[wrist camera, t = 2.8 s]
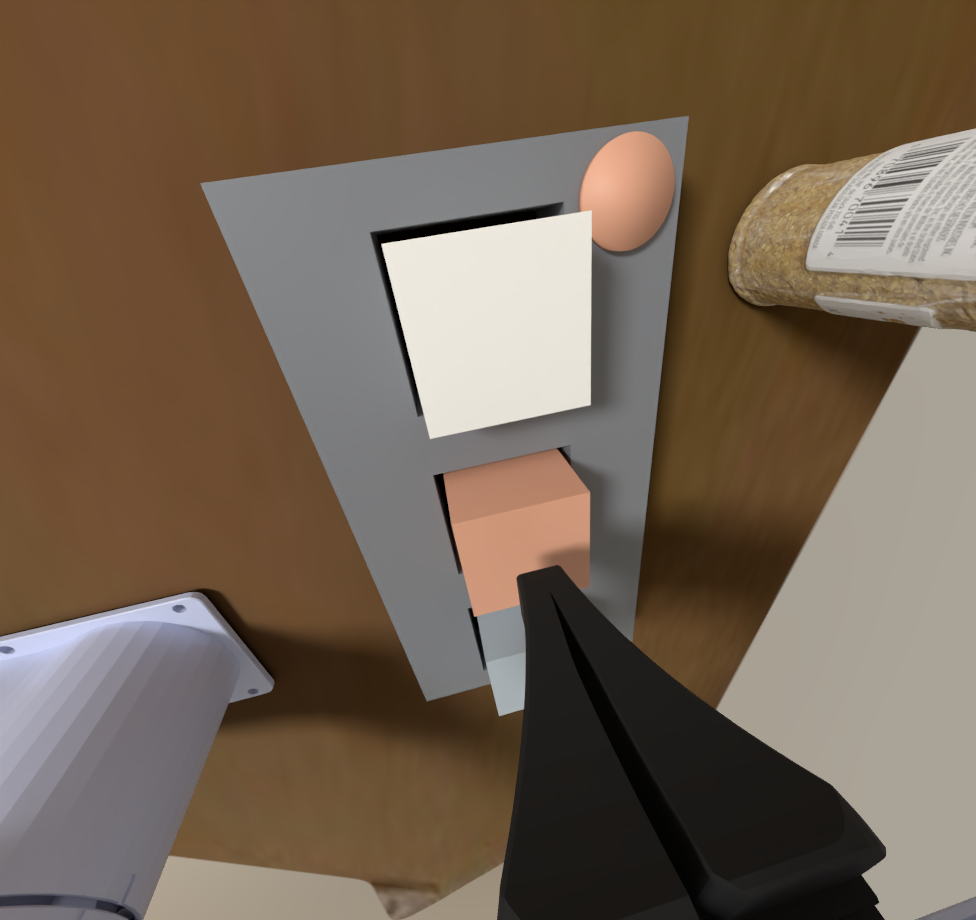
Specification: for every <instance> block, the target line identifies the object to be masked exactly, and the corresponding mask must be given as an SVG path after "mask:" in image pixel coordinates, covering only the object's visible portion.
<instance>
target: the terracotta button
mask: <svg viewBox="0 0 976 920" xmlns="http://www.w3.org/2000/svg"><path fill="white" fill-rule="evenodd" d="M443 476H444V482H445V488H446V495H447V501H448V507H449V513H450V519H451V525H452V529H453V533H454V537H455V541H456V545H457V549H458V553H459V557H460V561H461V565H462V569H463V573H464V577H465V581H466V585H467V589H468V593H469V597H470V601H471V605H472V609H473V613H474V617H476V616H480V615H483V614H487V613H491V612H495V611H499V610H503V609H506V608H510V607H514V606H518V605H520V601H519V594H518V587H517V580H516V578H517V576H518V575H519V574H523V573H527V572H531V571H535V570H539V569H543V568H547V567H551V566H555V565H559V566H561V567H562V568H563V570H564V571H565V572H566V574H567V575H568V576H569V577H570V579H571V580H572V581H573V582H574V583H575V585H576V586H577V587H578V588H579V589H583V588H587V587H590V491H589V490H588V489H587V487H586V486H585V485H584V483H583V482H582V481H581V480H580V478H579V477H578V476H577V474H576V473H575V472H574V470H573V469H572V468H571V466H570V465H569V464H568V462H567V461H566V460H565V458H564V457H563V456H562V454H561V453H560V452H559V451H558V449H557V448H554V449H550V450H545V451H541V452H536V453H532V454H527V455H523V456H518V457H514V458H509V459H505V460H500V461H495V462H491V463H486V464H482V465H477V466H473V467H468V468H464V469H459V470H455V471H450V472H446V473H443Z"/></svg>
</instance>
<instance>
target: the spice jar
mask: <svg viewBox="0 0 976 920" xmlns="http://www.w3.org/2000/svg"><path fill="white" fill-rule="evenodd" d="M728 259H729V262H728V272H729V281H730V283H731V284H732V286H733V288H734V290H735V292H736V293H737V294H738V295H739V296H740V297H742V298H744V299H745V300H746V301H748V302H750V303H751V304H754V305H758V306H773V305H784V306H795V307H801V308H808V309H816V310H822V311H826V312H829V313H832V314H837V315H842V316H850V317H858V318H865V319H872V320H879V321H886V322H895V323H902V324H908V325H914V326H922V327H930V328H938V329H963V330H969V331H975V332H976V129H972V130H967V131H963V132H958V133H954V134H949V135H944V136H940V137H935V138H931V139H926V140H922V141H917V142H913V143H909V144H905V145H902V146H898V147H895V148H893V149H891V150H889V151H887V152H884V153H879V154H873V155H869V156H864V157H859V158H854V159H851V160H845V161H840V162H835V163H832V164H826V165H816V164H814V165H812V164H805V165H801V166H797V167H794V168H792V169H789V170H787V171H786V172H784V173H782V174H780V175H778V176H777V177H775V178H774V179H772V180H771V181H769V183H768V184H767V185H766V186H765V187H764V188H763V189H762V190H761V191H759V193H758V194H757V195H756V196H755V197H754V198H753V200H752V202H751V204H750V205H749V206H748V207H747V208H746V210H745V212H744V213H743V215H742V217H741V219H740V221H739V223H738V225H737V227H736V229H735V231H734V234H733V237H732V240H731V244H730V248H729V255H728Z"/></svg>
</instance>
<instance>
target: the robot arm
mask: <svg viewBox="0 0 976 920" xmlns="http://www.w3.org/2000/svg"><path fill="white" fill-rule="evenodd" d="M516 580H517V587H518V594H519V601H520V608H521V615H522V619H523V623H524V627H525V641H526V674H525V699H524V715H523V727H522V738H521V749H520V758H519V767H518V774H517V782H516V789H515V797H514V804H513V811H512V818H511V825H510V831H509V837H508V843H507V849H506V855H505V860H504V866H503V873H502V878H501V884H500V895H499V907H498V916H497V920H884V918H883V917H882V915H881V914H880V913H879V911H878V910H877V908H876V907H875V905H876V904H878V903H879V901H878V898H877V896H876V895H875V893H874V892H873V891H872V889H871V888H870V886H869V885H868V884H867V882H866V881H865V880H864V878H863V877H862V874H863V873H864V872H866V871H867V870H869V869H870V868H872V867H873V866H874V865H876V864H877V863H879V862H880V861H881V860H883V859H884V858H885V856H886V847H885V846H884V845H883V844H882V842H881V841H880V840H879V838H878V837H877V836H876V835H875V834H874V832H873V831H872V830H871V829H870V827H869V826H868V825H867V824H866V822H865V821H864V820H863V819H862V818H861V816H860V815H859V814H858V813H857V812H856V811H855V810H854V809H853V808H852V807H851V806H850V804H849V803H848V802H847V801H846V800H845V799H844V798H843V797H842V796H841V795H840V794H839V793H838V791H837V790H836V789H834V787H833V786H832V785H831V784H829V783H827V782H826V781H824V780H823V779H821V778H819V777H818V776H816V775H814V774H813V773H811V772H809V771H808V770H806V769H804V768H803V767H801V766H799V765H798V764H796V763H795V762H793V761H791V760H790V759H788V758H787V757H785V756H784V755H782V754H780V753H779V752H777V751H776V750H774V749H772V748H771V747H769V746H768V745H766V744H765V743H763V742H762V741H760V740H759V739H757V738H756V737H754V736H753V735H751V734H750V733H748V732H747V731H745V730H744V729H742V728H741V727H739V726H738V725H736V724H735V723H733V722H732V721H731V720H729V719H728V718H726V717H725V716H724V715H722V714H721V713H719V712H718V711H717V710H715V709H714V708H712V707H711V706H710V705H708V704H707V703H705V702H704V701H703V700H701V699H700V698H699V697H697V696H696V695H694V694H693V693H692V692H690V691H689V690H688V689H687V688H685V687H684V686H683V685H682V684H680V683H679V682H678V681H676V680H675V679H674V678H673V677H671V676H670V675H669V674H668V673H666V672H665V671H664V670H663V669H662V668H660V667H659V666H658V665H657V664H656V663H654V662H653V661H652V660H651V659H650V658H649V657H647V656H646V655H645V654H644V653H643V652H642V651H641V650H639V649H638V648H637V647H636V646H635V645H634V644H633V643H632V642H631V641H630V640H629V639H627V638H626V637H625V636H624V635H623V634H622V633H621V632H620V631H619V630H618V629H617V628H616V627H615V626H614V625H613V624H612V623H611V622H610V621H609V620H608V619H607V618H606V617H605V616H604V615H603V614H602V613H601V612H600V611H599V610H598V609H597V608H596V607H595V606H594V605H593V604H592V603H591V601H590V600H589V599H588V598H587V597H586V596H585V595H584V594H583V593H582V591H581V590H580V589H579V588H578V587H577V586H576V585H575V583H574V582H573V581H572V580H571V579H570V577H569V576H568V575H567V574H566V572H565V571H564V570H563V568H562V567H561V566H559V565H555V566H551V567H547V568H543V569H539V570H535V571H531V572H527V573H523V574H519V575H518V576H517V578H516ZM274 683H275V682H274V680H273V678H272V677H271V676H270V675H269V674H268V672H267V671H266V670H265V669H264V667H263V666H262V665H261V664H260V662H259V661H258V660H257V659H256V657H255V656H254V655H253V654H252V653H251V651H250V650H249V649H248V648H247V646H246V645H245V644H244V643H243V641H242V640H241V639H240V638H239V636H238V635H237V634H236V633H235V631H234V630H233V629H232V628H231V627H230V625H229V624H228V623H227V622H226V620H225V619H224V618H223V617H222V615H221V614H220V613H219V612H218V610H217V609H216V608H215V607H214V606H213V604H212V603H211V602H210V601H209V599H208V598H207V597H206V596H205V595H204V594H202V593H199V592H188V593H184V594H180V595H176V596H171V597H167V598H163V599H159V600H154V601H150V602H146V603H142V604H137V605H133V606H129V607H125V608H120V609H116V610H112V611H108V612H104V613H99V614H95V615H91V616H87V617H82V618H78V619H74V620H70V621H65V622H61V623H57V624H53V625H48V626H44V627H40V628H36V629H32V630H27V631H23V632H19V633H15V634H10V635H6V636H2V637H0V920H143V919H144V916H145V914H146V911H147V909H148V906H149V903H150V901H151V899H152V896H153V894H154V891H155V889H156V886H157V883H158V881H159V878H160V876H161V873H162V871H163V868H164V866H165V863H166V860H167V858H168V856H169V853H170V851H171V848H172V845H173V843H174V840H175V838H176V835H177V833H178V830H179V828H180V825H181V823H182V820H183V818H184V815H185V813H186V810H187V808H188V805H189V802H190V800H191V797H192V795H193V792H194V790H195V787H196V785H197V782H198V780H199V777H200V775H201V772H202V770H203V767H204V764H205V762H206V759H207V757H208V754H209V752H210V749H211V747H212V744H213V742H214V739H215V737H216V734H217V732H218V729H219V727H220V724H221V721H222V719H223V716H224V714H225V711H226V709H227V706H228V704H229V703H232V702H235V701H239V700H243V699H247V698H251V697H254V696H258V695H262V694H266V693H268V692H270V691H271V690H272V689H273V686H274ZM916 920H976V897H973V898H971V899H968V900H965V901H963V902H960V903H958V904H955V905H952V906H950V907H947V908H945V909H942V910H939V911H937V912H934V913H931V914H929V915H926V916H923V917H921V918H918V919H916Z"/></svg>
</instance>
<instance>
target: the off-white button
mask: <svg viewBox="0 0 976 920" xmlns="http://www.w3.org/2000/svg"><path fill="white" fill-rule="evenodd" d="M381 245H382V249H383V253H384V257H385V261H386V265H387V269H388V273H389V277H390V281H391V285H392V289H393V293H394V297H395V301H396V305H397V309H398V313H399V317H400V321H401V325H402V329H403V333H404V337H405V341H406V345H407V349H408V353H409V357H410V361H411V365H412V369H413V373H414V377H415V381H416V385H417V389H418V393H419V397H420V401H421V405H422V409H423V413H424V417H425V421H426V425H427V429H428V433H429V437H430V439H433V438H437V437H442V436H447V435H451V434H456V433H461V432H466V431H470V430H475V429H480V428H485V427H489V426H494V425H499V424H503V423H508V422H513V421H518V420H522V419H527V418H532V417H537V416H541V415H546V414H551V413H555V412H560V411H565V410H570V409H574V408H579V407H584V406H589V405H591V261H592V210H590V211H584V212H578V213H572V214H565V215H559V216H553V217H547V218H540V219H534V220H528V221H522V222H515V223H509V224H503V225H497V226H490V227H484V228H478V229H472V230H465V231H459V232H453V233H447V234H440V235H434V236H428V237H421V238H415V239H409V240H403V241H396V242H390V243H384V244H381Z"/></svg>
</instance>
